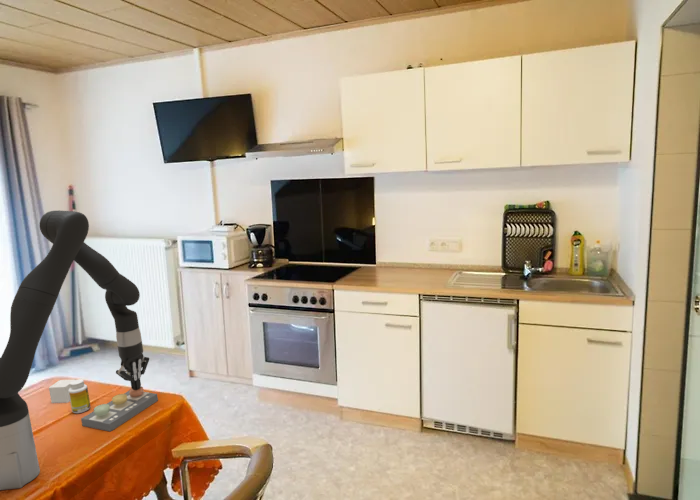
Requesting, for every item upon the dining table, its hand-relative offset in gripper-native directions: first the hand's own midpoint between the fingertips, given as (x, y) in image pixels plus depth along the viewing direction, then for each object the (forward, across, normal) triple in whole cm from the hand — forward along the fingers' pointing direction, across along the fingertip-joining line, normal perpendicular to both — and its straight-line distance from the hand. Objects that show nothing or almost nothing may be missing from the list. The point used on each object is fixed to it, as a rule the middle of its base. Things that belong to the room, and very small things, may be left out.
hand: (136, 389), depth 162 cm
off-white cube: (+5, -5, +29) cm, 30 cm away
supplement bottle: (+5, -10, +16) cm, 19 cm away
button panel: (+5, -7, 0) cm, 9 cm away
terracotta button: (+2, 0, 0) cm, 2 cm away
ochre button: (+1, -7, 0) cm, 7 cm away
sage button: (+1, -14, 0) cm, 14 cm away
